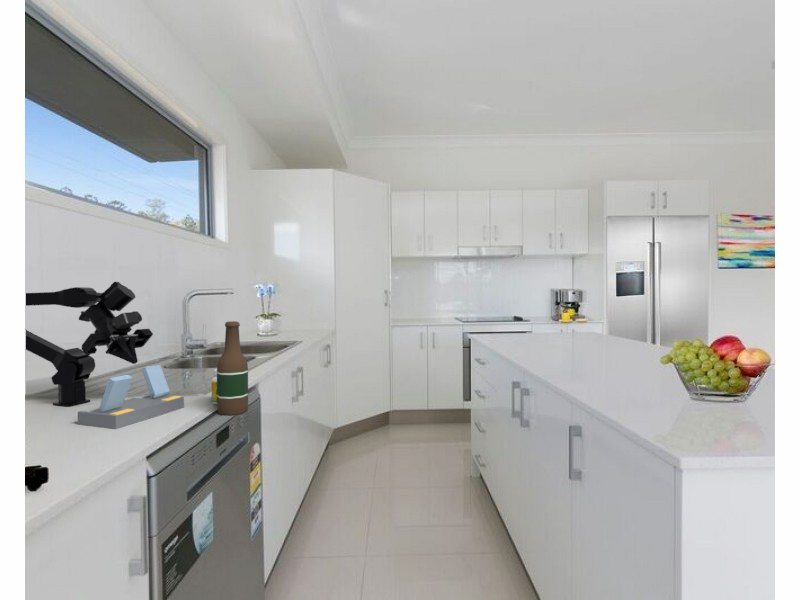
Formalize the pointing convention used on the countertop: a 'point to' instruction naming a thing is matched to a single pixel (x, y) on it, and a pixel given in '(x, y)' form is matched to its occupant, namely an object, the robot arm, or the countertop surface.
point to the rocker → (155, 381)
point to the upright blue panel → (115, 392)
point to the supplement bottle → (214, 388)
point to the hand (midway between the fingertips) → (135, 362)
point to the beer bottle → (232, 375)
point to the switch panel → (130, 411)
